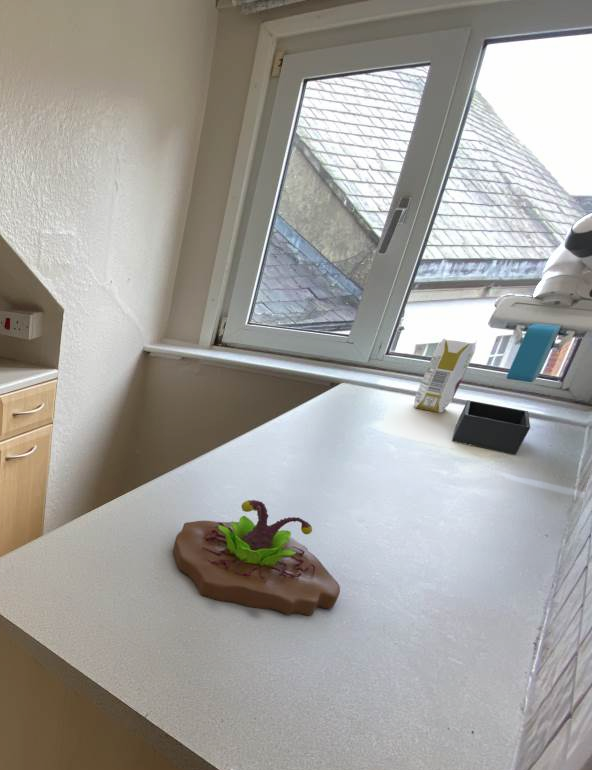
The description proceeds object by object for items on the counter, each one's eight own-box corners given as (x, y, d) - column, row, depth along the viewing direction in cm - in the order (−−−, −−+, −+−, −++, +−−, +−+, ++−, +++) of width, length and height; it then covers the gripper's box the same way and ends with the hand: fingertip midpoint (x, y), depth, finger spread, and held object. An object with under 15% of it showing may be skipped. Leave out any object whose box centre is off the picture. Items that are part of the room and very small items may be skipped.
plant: (158, 527, 88) (173, 463, 83) (284, 537, 86) (307, 474, 81) (195, 607, 70) (217, 533, 65) (354, 623, 68) (390, 548, 64)
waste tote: (514, 437, 133) (528, 411, 131) (515, 455, 123) (530, 427, 120) (455, 424, 140) (467, 400, 137) (451, 440, 129) (464, 414, 126)
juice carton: (409, 407, 152) (439, 338, 144) (415, 401, 158) (444, 334, 149) (443, 414, 147) (476, 343, 139) (449, 408, 153) (480, 340, 144)
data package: (513, 372, 134) (535, 322, 129) (538, 375, 131) (562, 324, 126) (504, 379, 127) (528, 327, 122) (531, 383, 124) (556, 329, 119)
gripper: (503, 284, 133) (483, 330, 131) (626, 294, 121) (606, 345, 119) (495, 301, 138) (475, 346, 136) (612, 313, 126) (593, 362, 124)
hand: (537, 345), depth 127 cm, fingers closed on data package, 5 cm apart
